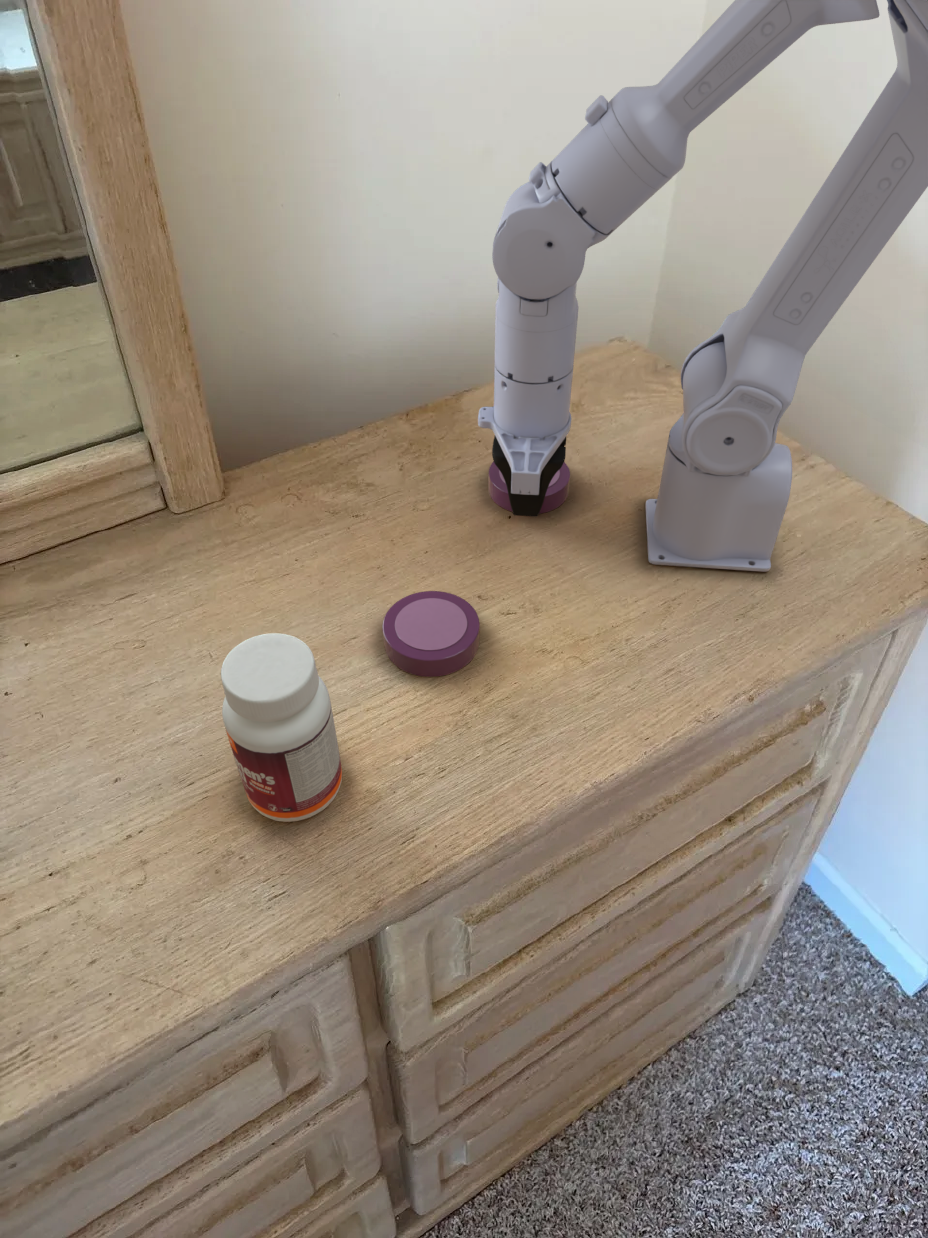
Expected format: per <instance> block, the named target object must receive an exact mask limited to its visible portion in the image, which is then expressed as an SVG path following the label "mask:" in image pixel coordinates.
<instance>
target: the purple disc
mask: <svg viewBox="0 0 928 1238" xmlns="http://www.w3.org/2000/svg"><path fill="white" fill-rule="evenodd" d="M381 628H382V629H381V630H382V637H383V638H382V640H383V648H384V652H385V654H386V656H387V657H388V660H390V662H391V663H392V664H393V665H394V666H395V667H397V668H398V669H400V670H401V671H403V672H406V673H407V674H411V675H413V676H417V677H418V676H419V677H424V678H427V677H428V678H434V677H435V678H436V677H443V676H447V675H450V674H453V673H456V672H458V671H460V670H461V669H463V668H465V667H466V666H467V665H468V664H470V663H471V662H472V661H473V659H474V658H475V656H476V655H477V654H478V651H479V648H480V647H479V646H480V642H481V639H480V633H481V632H480V631H481V623H480V618H479V614H478V612H477V611H476V610H475V608H474V607H473V605H471V603H469V602H468V601H467V600H466V599H464V598H463V597H461V596H459V595H457V594H453V593H451V592H446V591H440V590H425V591H419V592H415V593H411V594H408V595H406V596H403V597H402V598H401V599H399V600H397V601H396V602H394V603H393V604H392V605H391V607H389V609H388V610H387V612H386V613H385V615H384V617H383V621H382V625H381Z"/></svg>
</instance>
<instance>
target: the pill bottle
mask: <svg viewBox="0 0 928 1238" xmlns="http://www.w3.org/2000/svg"><path fill="white" fill-rule="evenodd" d="M220 680H221V684H222V687H223V692H224V698H223V702H222V708H221V715H222V721H223V725H224V728H225V729H224V730H225V732H226V735H227V738H228V743H229V745H230V748H231V751H232V755H233V758H234V761H235V762H234V763H235V765H236V768H237V772H238V774H239V778H240V780H241V783H242V787H243V790H244V792H245V795H246V798H247V800H248V802H249V804H250V805H251V806H252V807H253V809H254V810H256V812H258V813H259V814H260V815H262V816H264V817H265V818H267V819H270V820H273V821H276V822H290V823H291V822H298V821H303V820H306V819H309V818H312V817H314V816H315V815H317V814H319V813H321V812H322V811H323V810H324V809H326V808H327V807H328V806H329V805H330V804H331V803H332V802H333V801H334V799H335V798H336V797H337V795H338V793H339V791H340V789H341V785H342V781H343V768H342V759H341V754H340V749H339V748H340V747H339V744H338V743H339V742H338V736H337V731H336V725H335V720H334V719H335V718H334V714H333V707H332V702H331V697H330V693H329V690H328V687H327V685H326V683H325V682H324V680H323V679H322V677H321V676H320V675H319V672H318V669H317V665H316V660H315V657H314V653H313V652H312V649H311V648H310V647H309V645H308V644H307V643H305V642H304V641H303V640H302V639H300V638H298V637H296V636H293V635H291V634H286V633H278V632H271V633H263V634H258V635H255V636H252V637H249V638H248V639H245V640H243V641H241V642H240V643H238V644H237V645H235V646H234V647H233V648H232V649H231V650H230V651H229V652H228V654H227V655H226V656H225V658H224V660H223V662H222V664H221V669H220Z"/></svg>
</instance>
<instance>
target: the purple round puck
mask: <svg viewBox="0 0 928 1238" xmlns="http://www.w3.org/2000/svg"><path fill="white" fill-rule="evenodd" d="M570 482H571V471H570V468H569V466H568V464H567V463H566V461H564V463H563V465H562V467H561V468H560V469H559V470H558V472H557V473H556V474H555V475H554V477H553V478H552V480H551V482H550V484H549V486H548V489H547V492H546V495H545V498H544V502H543V505H542V508H541V510H540V513H539V515H540V514H546V513H548V512H551V511H554V510H556V509H557V508H559V507H561V506H562V505H563V504H564V503H565V502H566V500H567V498H568V496H569V493H570ZM487 486H488V487H487V488H488V490H487V491H488V494H489V496H490V498H491V500H492V501H493V502H494V503H495V504H496V505H497V506H499V507H500V508H502V509H504V510H505V511H509V512H511V513H513V511H512V508H511V505H510V500H509V495H508V490H507V486H506V483H505V480H504V478H503V475H502V473H501V472H500V470H499V469H498V467H497V466H496V465H495V463H494V460H493V461H492V462H491V464H490V466H489V468H488V485H487Z"/></svg>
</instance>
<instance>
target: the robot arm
mask: <svg viewBox="0 0 928 1238" xmlns="http://www.w3.org/2000/svg"><path fill="white" fill-rule="evenodd" d="M886 2H887V14H888V18H889V23H890V24H889V25H890V29H891V35H892V40H893V44H894V50H895V55H896V63H897V64H896V69H895V71H894V72H893V74H892V75H891V76H890V78H889V80H888V82H887V84H885V86H884V88H883V89H882V91H881V93H880V94H879V95H878V98H876V100H875V102H874V103H873V105H872V107H871V108H870V110H869V112H868V113H867V114H866V116H865V118H864V119H863V121H862V122H861V124H860V125H859V127H858V129H857V130H856V132H855V133H854V135H853V137H852V138H851V140H850V141H849V143H848V144H847V146H845V147H846V148H845V149H844V150H843V152H842V154H841V156H840V157H839V158H838V160H837V161H836V163H835V165H834V166H833V168H832V169H831V171H830V172H829V174H828V176H827V177H826V179H825V180H824V182H823V183H822V185H821V187H820V188H819V189H818V191H817V193H816V195H815V196H814V198H813V199H812V200H811V202H810V204H809V205H808V207H807V209H806V210H805V211H804V213H803V215H802V217H801V218H800V220H799V221H798V223H797V224H796V225H795V227H794V229H793V230H792V232H791V233H790V235H789V237H788V238H787V240H786V241H785V243H784V244H783V245H782V248H781V249H780V251H779V252H778V254H777V255H776V257H775V258H774V260H773V262H772V263H771V265H770V266H769V268H768V269H767V271H766V273H765V275H764V276H763V278H761V281H760V282H759V284H758V285H757V287H756V288H755V290H754V292H753V293H752V295H751V296H750V298H749V299H748V301H747V303H746V304H745V305H744V307H742V308H740V309H738V310H735V311H732V312H731V313H729V314H728V315H726V317H725V319H724V320H723V321H722V323H721V325H720V326H719V328H718V329H717V330H716V331H715V332H714V333H713V334H712V335H711V336H710V337H708V338H706V339H705V340H704V341H702V342H700V343H699V344H697V345H696V346H695V347H694V348H693V349H691V350H690V352H689V353H688V354H687V355H686V357H685V359H684V361H683V363H682V365H681V370H680V385H681V389H682V406H683V407H682V408H683V409H682V410H683V412H682V414H681V415H680V417H679V418H678V419H677V420H676V421H675V422H674V424H673V425H672V427H671V428H670V429H669V434H668V438H667V444H666V449H665V455H664V461H663V466H662V471H661V476H660V482H659V487H658V493H657V498H649V499H646V501H645V505H644V506H645V521H646V523H645V524H646V542H647V544H646V545H647V560H648V562H649V563H650V564H652V565H657V566H658V565H659V566H674V567H689V568H703V569H718V570H735V571H746V572H747V571H749V572H762V573H763V572H764V573H765V572H769V571H770V570H771V568H772V563H771V557H772V554H773V552H774V548H775V546H776V542H777V539H778V536H779V533H780V530H781V527H782V523H783V520H784V517H785V513H786V510H787V508H788V503H789V499H790V495H791V490H792V483H793V482H792V480H793V458H792V453H791V449H790V447H789V445H786V444H783V443H777V442H776V441H777V436H778V434H777V433H778V427H779V424H780V421H781V419H782V417H783V415H784V414H785V412H786V411H787V410H788V408H789V407H790V406H791V404H792V402H793V400H794V397H795V394H796V391H797V390H796V389H797V386H798V382H799V378H800V375H801V371H802V368H803V364H804V362H805V358H806V355H807V354H808V352H809V351H810V350H811V348H812V347H813V346H814V344H815V343H816V342H817V340H818V339H819V337H820V336H821V334H823V332H824V330H825V329H826V328H827V327H828V325H829V324H830V322H831V320H833V318H834V317H835V316H836V314H837V313H838V311H839V310H840V308H841V307H842V306H843V304H844V303H845V302H846V300H847V298H848V297H849V296H850V295H851V293H853V291H854V289H855V288H856V286H857V285H858V283H859V282H860V281H861V279H862V278H863V277H864V276H865V274H866V272H867V271H868V270H869V268H870V267H871V266H872V264H873V263H874V261H875V260H876V259H877V257H878V256H879V255H880V253H881V252H882V250H883V249H884V248H885V246H886V245H887V244H888V242H889V241H890V240H891V238H892V237H893V235H894V234H895V233H896V231H897V230H898V228H899V227H900V225H901V224H902V223H903V221H904V220H905V219H906V217H907V216H908V215H909V213H910V212H911V211H912V209H913V208H914V206H915V205H916V203H918V201H919V199H920V198H921V197H922V195H923V194H924V192H925V191H926V190H927V189H928V0H886ZM879 17H880V9H879V6H878V1H877V0H734V1H733V2H732V3H731V4H730V5H729V6H728V7H727V8H726V9H725V10H724V12H722V13H721V14H720V16H719V17H718V18H717V19H716V20H714V22H713V23H712V24H711V26H709V28H708V29H707V30H706V31H705V32H704V33H703V34H702V35H701V36H700V37H699V39H698V40H696V42H695V43H694V44H693V45H692V46H691V47H690V48H689V49H688V50H687V52H686V53H684V54H683V56H682V57H681V58H680V59H679V60H678V61H677V63H675V64H674V66H672V68H671V69H670V70H669V71H668V72H667V73H666V74H665V75H664V77H662V79H660V80H659V82H658V83H656V84H654V85H643V86H625V87H622V88H621V89H620V90H619V91H618V92H617V93H616V94H615V95H614V96H613V97H612V98H611V99H610V100H608V99H607V98H606V97H605V96H604V95H599V96H597V98H595V100H594V101H593V102H592V103H591V104H590V105H589V106H588V107H587V108H586V111H585V114H584V115H585V116H584V120H585V122H586V123H587V124H586V125H585V126H584V127H583V128H582V129H581V130H580V131H579V132H578V133H577V135H575V136H574V137H573V138H572V139H571V140H570V141H569V143H568V144H567V145H566V146H564V148H562V149H561V150H560V151H559V153H558V154H557V155H556V156H555V157H554V158H553V159H552V160H551V161H550V162H549V163H548V164H547V165H546V164H544V163H543V162H542V161H539V162H538V163H537V164H536V165H535V167H534V168H532V170H530V173H529V176H528V181H527V182H526V183H524V184H522V185H520V186H519V187H517V188H516V189H515V190H514V191H513V192H512V193H511V194H510V196H509V197H508V199H507V201H506V202H505V205H504V207H503V210H502V213H501V217H500V219H499V223H498V226H497V229H496V232H495V234H494V238H493V243H492V258H491V259H492V265H493V268H494V272H495V274H496V275H497V283H496V284H497V285H496V288H497V293H498V297H497V300H496V302H495V312H494V313H495V314H494V316H495V317H494V319H495V322H494V323H495V324H494V372H493V373H494V374H493V375H494V378H493V379H494V381H493V389H494V390H493V406H482V407H480V408H479V410H478V416H477V425H478V427H479V428H482V429H489V430H491V431H492V432H493V434H494V436H493V441H492V442H493V443H492V448H491V454H492V455H491V456H492V460H493V461H494V463H495V465H496V466H497V467H498V469H499V470H500V472H501V473H502V475H503V478H504V480H505V483H506V486H507V490H508V495H509V500H510V505H511V508H512V511H513V512H512V514H513V515H514V516H518V517H519V516H521V517H533V518H534V517H535V518H537V517H538V516H539V515H540V514H539V513H540V510H541V508H542V505H543V502H544V498H545V495H546V492H547V489H548V486H549V484H550V482H551V480H552V478H553V477H554V475H555V474H556V473H557V472H558V470H559V469H560V468H561V467H562V465H563V463H564V462H566V461H565V460H566V451H567V447H566V445H567V436H568V434H569V433H570V431H571V429H572V428H571V427H572V414H571V412H570V410H571V399H572V396H571V395H572V388H573V387H572V386H573V379H574V378H573V377H574V368H575V367H574V364H575V352H576V341H577V331H578V320H579V307H580V306H579V301H578V298H577V284H578V281H579V279H580V277H581V276H582V273H583V270H584V268H585V267H584V266H585V262H586V253H587V250H588V249H589V248H591V247H593V246H595V245H597V244H600V243H601V242H603V241H605V240H607V238H608V237H609V236H610V235H611V234H612V233H613V232H615V231H616V230H617V229H618V228H619V227H620V226H621V225H622V224H623V223H625V221H626V220H628V219H629V218H630V217H631V216H632V215H633V214H634V213H635V212H637V211H638V210H639V209H640V208H641V207H642V206H643V205H644V204H645V203H647V202H648V200H649V199H651V198H652V197H653V196H654V195H655V194H656V193H657V192H658V191H660V190H661V189H662V188H663V187H664V186H665V185H667V184H668V182H669V181H670V180H672V178H673V177H674V176H676V175H677V174H679V172H680V171H682V169H683V168H684V167H685V163H686V157H687V150H688V149H687V148H688V139H689V136H690V133H692V131H694V130H695V129H696V128H697V127H699V125H701V124H702V123H704V121H705V120H706V119H708V118H709V117H710V116H711V115H712V114H713V113H714V112H716V111H717V110H718V109H719V108H720V107H721V106H723V105H724V104H725V103H726V102H728V101H729V99H730V98H732V97H733V96H734V95H735V94H736V93H738V92H739V91H740V90H741V89H743V87H745V86H746V85H747V84H748V83H749V82H751V80H753V79H754V78H755V77H756V76H758V75H759V74H760V73H761V72H762V71H763V70H764V69H766V67H768V66H769V65H770V64H771V63H772V62H773V61H775V60H776V59H777V58H778V57H779V56H781V55H782V54H783V53H784V52H785V51H786V50H787V49H789V48H790V47H791V46H792V45H793V44H794V43H796V42H797V41H798V40H799V39H800V38H801V37H802V36H804V35H805V34H806V33H807V32H808V31H810V30H811V29H813V28H815V27H818V26H826V25H827V26H828V25H835V24H843V23H854V22H862V21H870V20H875V19H878V18H879Z"/></svg>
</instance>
